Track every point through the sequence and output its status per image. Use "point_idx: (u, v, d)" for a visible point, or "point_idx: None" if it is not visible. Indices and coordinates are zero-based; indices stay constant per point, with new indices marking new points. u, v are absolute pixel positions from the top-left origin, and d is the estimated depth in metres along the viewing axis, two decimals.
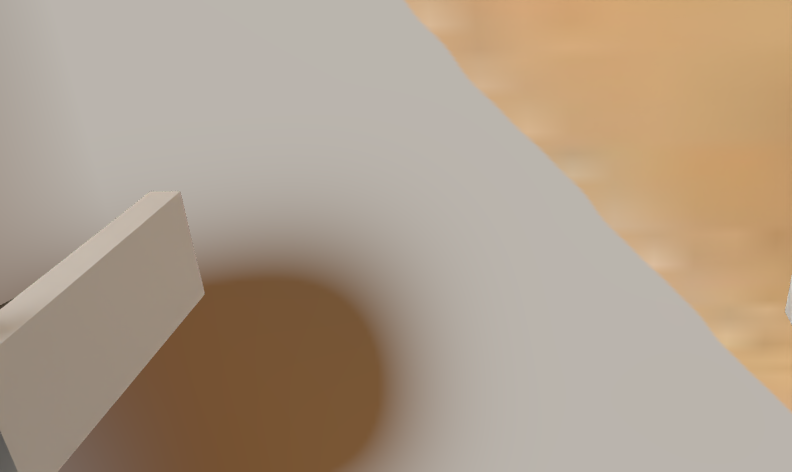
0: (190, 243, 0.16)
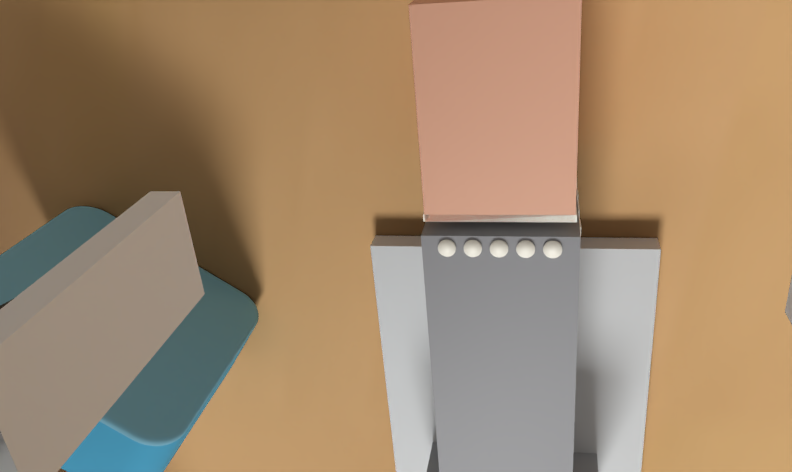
0: (190, 243, 0.16)
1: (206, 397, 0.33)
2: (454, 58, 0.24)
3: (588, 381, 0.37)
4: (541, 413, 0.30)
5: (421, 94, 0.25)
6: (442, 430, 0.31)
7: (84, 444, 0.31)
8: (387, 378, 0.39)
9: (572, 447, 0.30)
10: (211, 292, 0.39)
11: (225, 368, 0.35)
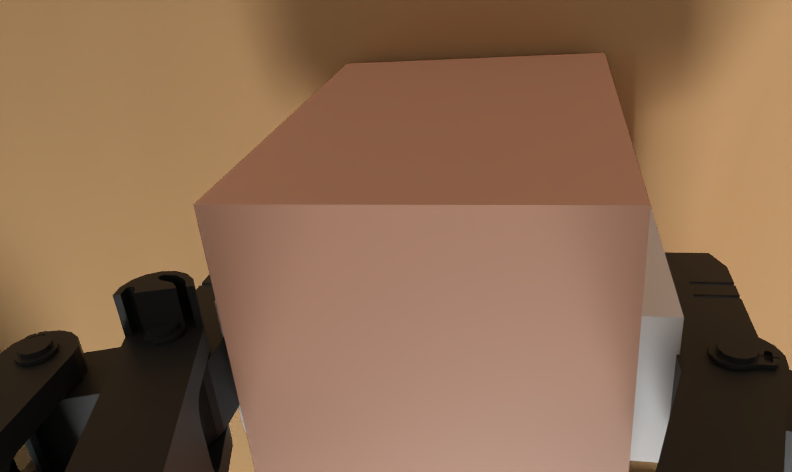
0: None
1: None
2: (318, 327, 0.10)
3: None
4: None
5: (250, 393, 0.10)
6: None
7: None
8: None
9: None
10: None
11: None
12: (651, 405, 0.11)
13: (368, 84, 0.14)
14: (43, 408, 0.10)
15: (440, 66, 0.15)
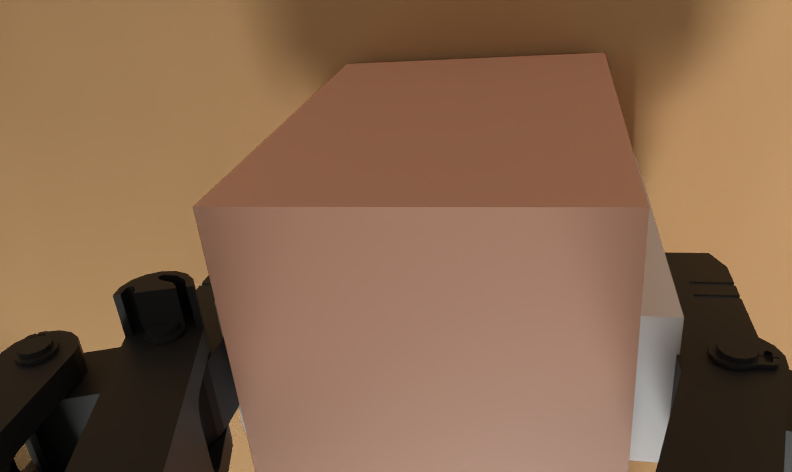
0: None
1: None
2: (317, 329, 0.10)
3: None
4: None
5: (250, 394, 0.10)
6: None
7: None
8: None
9: None
10: None
11: None
12: (651, 405, 0.11)
13: (368, 85, 0.14)
14: (43, 408, 0.10)
15: (440, 66, 0.15)
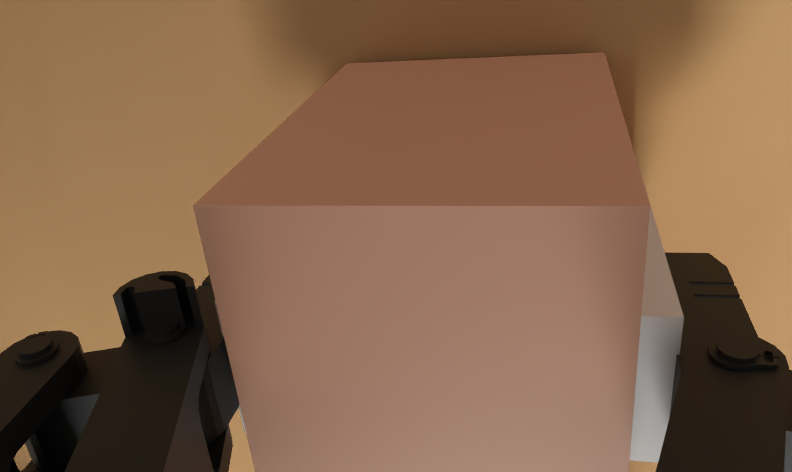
0: None
1: None
2: (318, 327, 0.10)
3: None
4: None
5: (250, 393, 0.10)
6: None
7: None
8: None
9: None
10: None
11: None
12: (651, 405, 0.11)
13: (368, 84, 0.14)
14: (43, 408, 0.10)
15: (440, 66, 0.15)
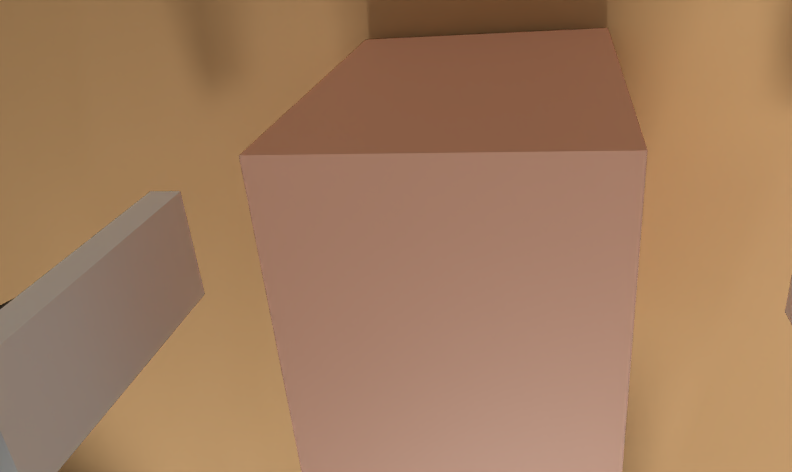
0: (190, 243, 0.16)
1: None
2: (349, 267, 0.11)
3: None
4: None
5: (286, 331, 0.11)
6: None
7: None
8: None
9: None
10: None
11: None
12: None
13: (387, 57, 0.15)
14: None
15: (454, 41, 0.16)
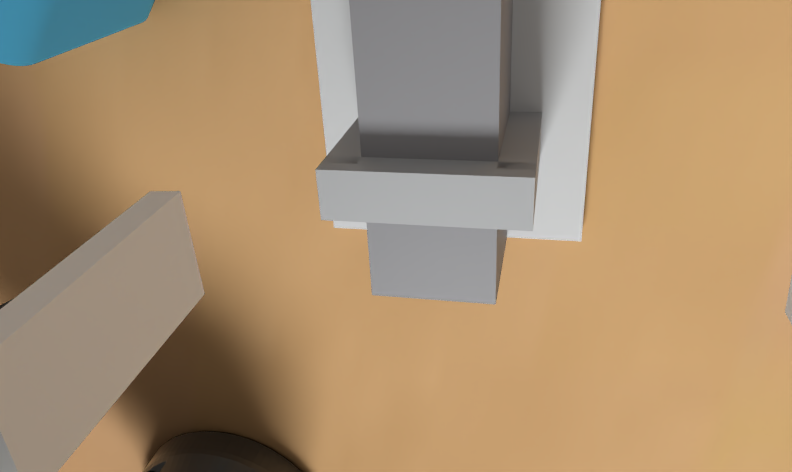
0: (190, 243, 0.16)
1: None
2: None
3: (533, 10, 0.33)
4: None
5: None
6: None
7: None
8: (315, 23, 0.36)
9: None
10: None
11: None
12: None
13: None
14: None
15: None
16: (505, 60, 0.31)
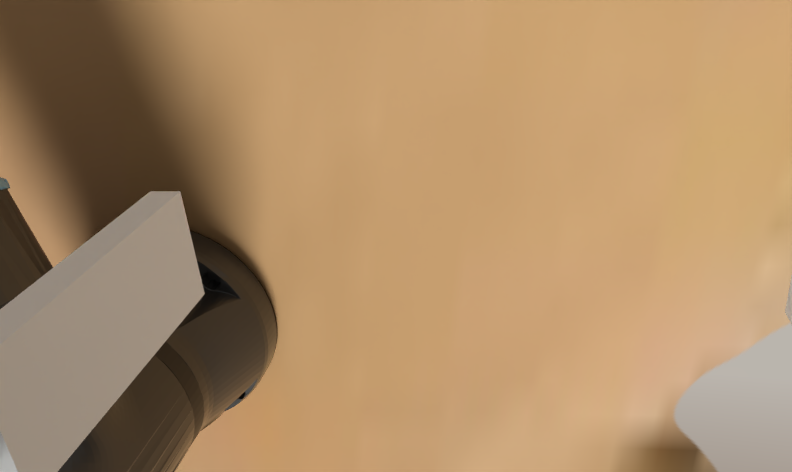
0: (190, 243, 0.16)
1: None
2: None
3: None
4: None
5: None
6: None
7: None
8: None
9: None
10: None
11: None
12: None
13: None
14: None
15: None
16: None
